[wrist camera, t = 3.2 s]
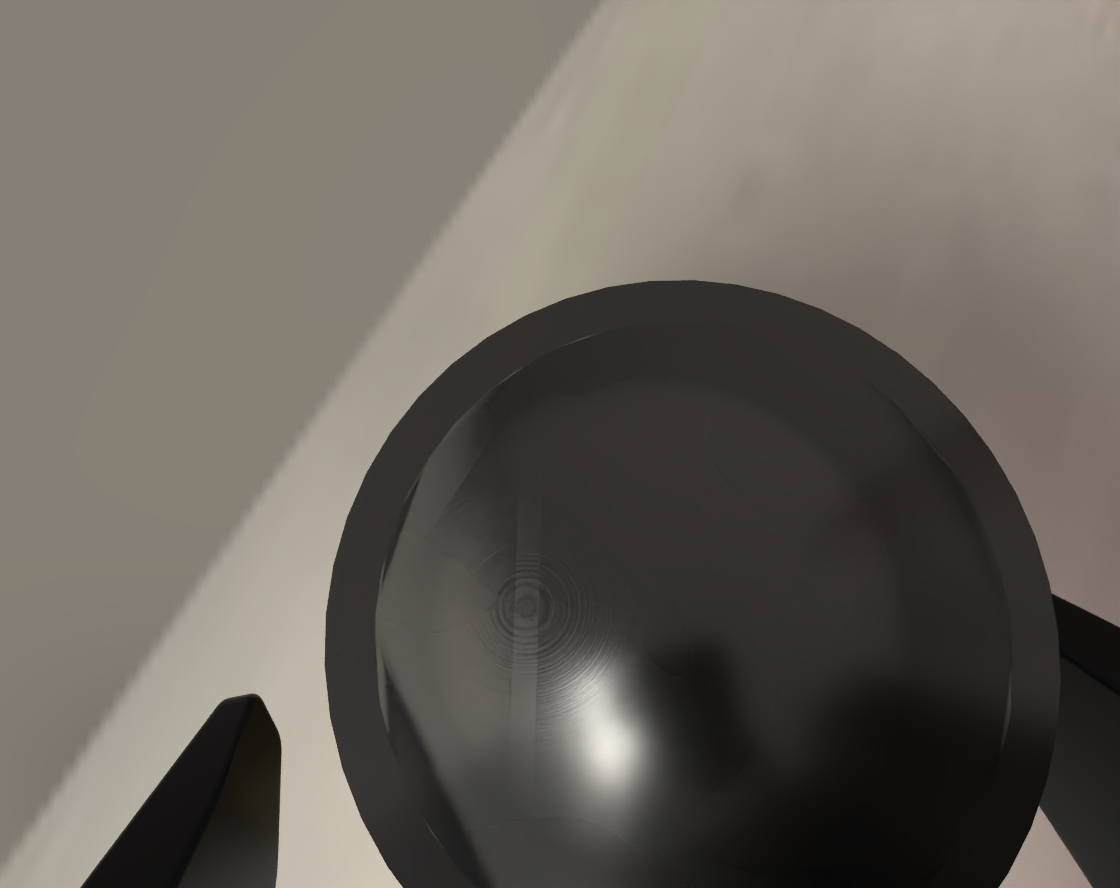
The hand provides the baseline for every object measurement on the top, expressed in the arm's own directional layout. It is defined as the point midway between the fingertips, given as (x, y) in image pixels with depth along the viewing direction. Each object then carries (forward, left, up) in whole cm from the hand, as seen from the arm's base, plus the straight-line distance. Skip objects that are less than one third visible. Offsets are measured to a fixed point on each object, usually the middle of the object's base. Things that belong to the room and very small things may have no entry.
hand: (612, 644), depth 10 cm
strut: (0, 0, -9) cm, 9 cm away
